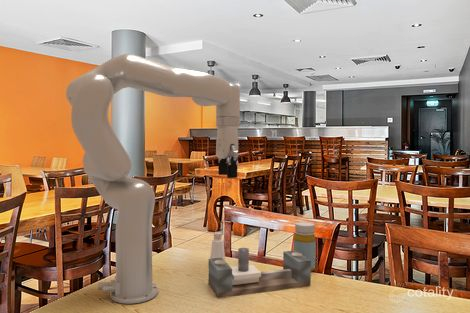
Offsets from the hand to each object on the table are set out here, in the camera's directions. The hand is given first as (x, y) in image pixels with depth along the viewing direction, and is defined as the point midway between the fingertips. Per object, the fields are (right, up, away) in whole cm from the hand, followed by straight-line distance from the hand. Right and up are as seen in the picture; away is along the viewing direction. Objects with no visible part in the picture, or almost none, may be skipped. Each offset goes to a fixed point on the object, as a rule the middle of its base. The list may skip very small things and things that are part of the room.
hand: (227, 176), depth 122 cm
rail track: (+10, -31, -12) cm, 35 cm away
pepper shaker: (-3, -30, +5) cm, 31 cm away
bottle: (+25, -31, +2) cm, 40 cm away
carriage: (+5, -29, -14) cm, 33 cm away
